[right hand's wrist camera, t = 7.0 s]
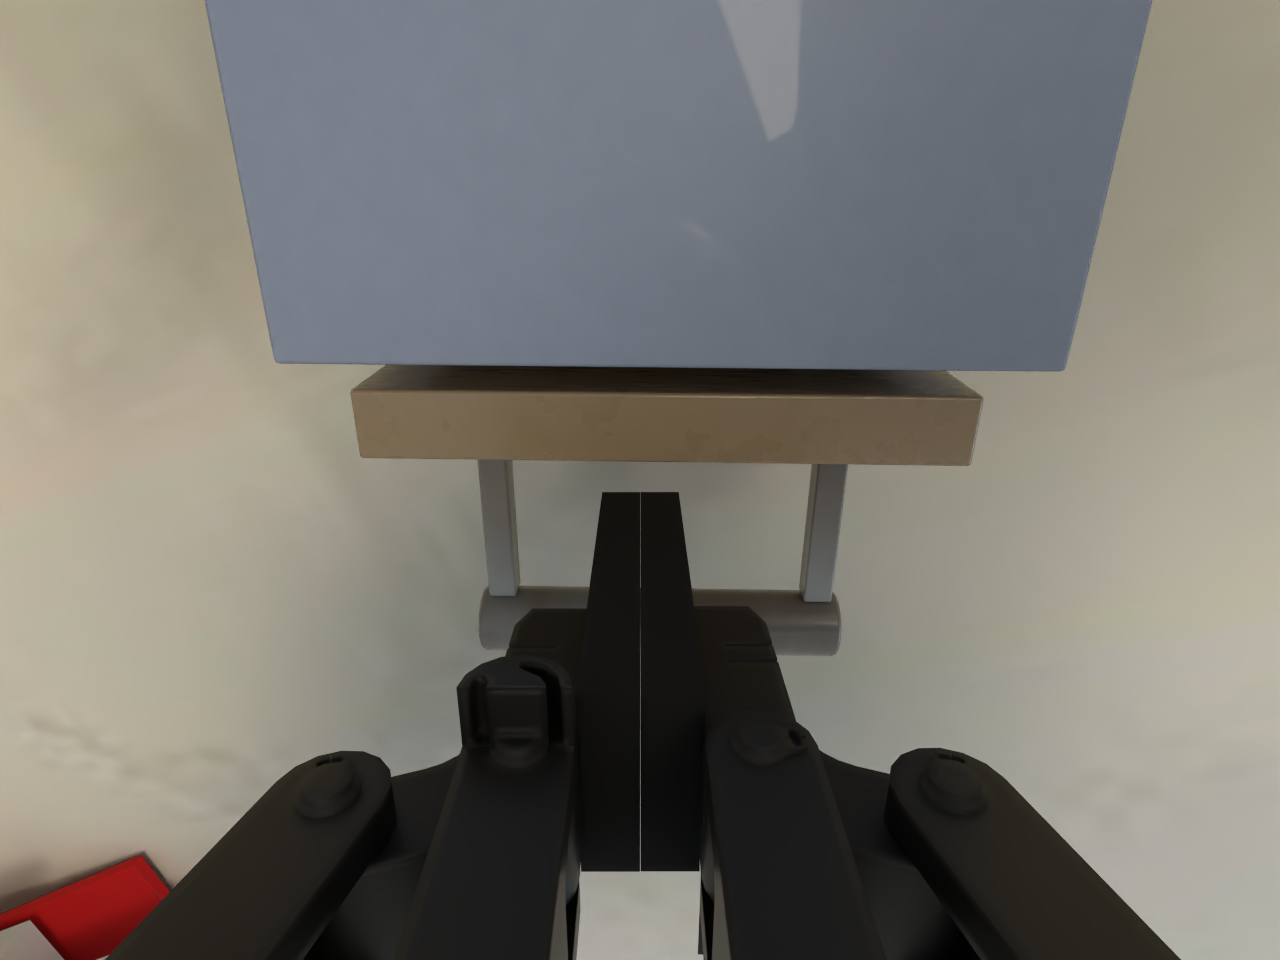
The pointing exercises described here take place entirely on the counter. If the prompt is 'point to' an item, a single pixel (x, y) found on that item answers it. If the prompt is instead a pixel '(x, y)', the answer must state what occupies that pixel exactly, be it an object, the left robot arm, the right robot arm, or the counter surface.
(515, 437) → the drawer
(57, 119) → the counter surface
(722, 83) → the cabinet
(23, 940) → the toy
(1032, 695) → the counter surface
